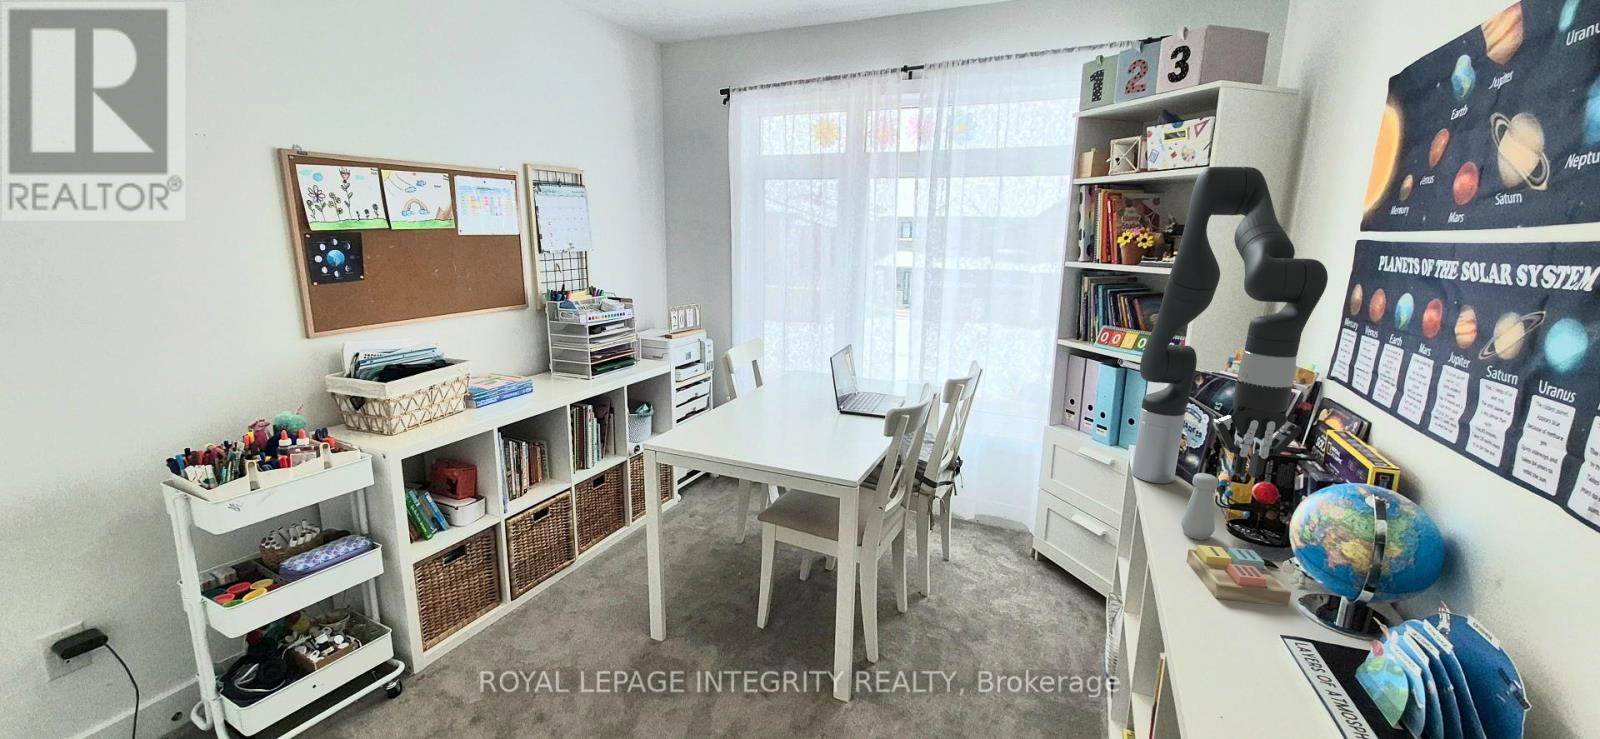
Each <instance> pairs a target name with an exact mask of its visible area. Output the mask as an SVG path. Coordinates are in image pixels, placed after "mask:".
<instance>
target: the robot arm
mask: <svg viewBox="0 0 1600 739" xmlns="http://www.w3.org/2000/svg"><path fill="white" fill-rule="evenodd" d="M1194 183H1195V184H1194V186H1193V189H1192V192H1191V197H1190V201H1189V205H1188V210H1187V215H1186V219H1185V223H1184V228H1183V233H1182V236H1181V239H1180V243H1179V247H1178V249H1177V252H1176V255H1175V259H1174V262H1173V265H1172V266H1171V269H1170V273H1169V276H1168V279H1167V282H1166V286H1165V289H1164V292H1163V297H1162V300H1161V304H1160V307H1159V311H1158V312H1157V313H1158V314H1157V318H1156V320H1155V323H1154V325H1153V327H1152V330H1151V332H1150V335H1149V337H1148V340H1147V342H1146V345H1145V347H1144V349H1143V351H1142V354H1141V359H1140V362H1139V363H1140V364H1139V373H1140V377H1141V378H1142V379H1143V380H1144V381H1146V382H1148V383H1149V382H1150V383H1154V384H1155V383H1158V384H1159V383H1160V384H1168V386H1167V387H1165V388H1163V389H1161V390H1159V391H1158V390H1157V391H1155V392H1151V393H1147V394H1145V395H1144V396H1143V398H1142V401H1141V409H1140V417H1139V422H1138V427H1137V429H1138V430H1137V435H1136V441H1135V442H1136V443H1135V448H1134V455H1133V462H1132V469H1131V474H1132V475H1133V476H1134V477H1136V478H1137V479H1139V480H1142V481H1145V482H1149V483H1155V484H1161V485H1163V484H1171V483H1173V482H1174V481H1175V476H1176V469H1177V465H1178V464H1177V463H1178V459H1179V453H1180V447H1181V442H1182V435H1183V429H1184V423H1185V417H1186V411H1187V406H1188V404H1189V401H1190V398H1191V392H1192V388H1193V384H1194V383H1193V382H1194V378H1195V375H1196V371H1197V364H1198V362H1197V359H1198V358H1197V353H1196V350H1195V349H1194V347H1192V346H1191V345H1184V344H1171V342H1172V340H1173V339H1174V337H1175V336H1176V335H1177V334H1178V333H1179V332H1180V331H1181V330H1182V329H1184V327H1187V325H1188V324H1190V323H1191V322H1193V320H1195V319H1196V318H1197V317H1199V316H1200V315H1201V314H1202V313H1203V312H1204V311H1206V310H1207V309H1208V307H1209V306H1210V304H1211V303H1212V301H1213V299H1214V295H1215V293H1216V291H1217V288H1218V285H1219V284H1220V283H1219V282H1220V279H1221V269H1220V265H1219V263H1218V261H1217V258H1216V256H1215V254H1214V252H1213V250H1212V247H1211V244H1210V242H1209V239H1208V238H1209V237H1208V223H1209V221H1210V220H1209V219H1210V218H1211V216H1244V217H1243V219H1242V220H1241V221H1240V222H1239V224H1238V226H1237V227H1236V228H1235V229H1236V230H1235V231H1234V232H1235V233H1234V244H1235V247H1236V248H1235V249H1236V250H1237V252H1238V253H1239V255H1240V257H1241V259H1242V261H1243V264H1244V283H1243V286H1244V291H1245V293H1246V295H1247V296H1248V297H1250V298H1252V299H1253V300H1254V301H1257V302H1262V303H1263V302H1266V303H1285V305H1284V306H1283V307H1282V308H1281V310H1280V311H1278V312H1276V313H1272V314H1267V315H1260V316H1256V317H1254V318H1252V319H1251V320H1250V323H1249V326H1248V328H1247V334H1246V335H1247V336H1246V341H1245V346H1244V350H1243V355H1242V357H1241V360H1240V363H1239V367H1238V372H1237V379H1236V384H1235V389H1234V395H1233V400H1232V407H1231V409H1230V410H1229V411H1228V413H1227V415H1226V416H1223V417H1221V418H1219V419H1218V418H1217V417H1216V418H1215V417H1214V418H1212V419H1211V422H1210V423H1211V425H1212V427H1213V429H1214V431H1215V434H1216V436H1217V437H1218V439H1219V442H1220V444H1221V445H1222V447H1223V448H1224V449H1225V450H1227V451H1228V452H1229V453H1231V454H1233V457H1232V462H1231V466H1230V467H1231V470H1232V471H1233V473H1234V474H1235V476H1237V477H1239V478H1244V477H1245V475H1246V470H1247V469H1248V470H1247V473H1248V475H1249V476H1250V477H1251V478H1253V479H1258V478H1259V477H1260V476H1262V474H1263V473H1264V469H1265V465H1266V459H1267V458H1268V457H1273V456H1274V457H1275V456H1276V457H1277V456H1280V455H1281V454H1282V453H1283V452H1284V451H1285V450H1286V449H1287V447H1289V445H1290V444H1291V443H1293V441H1294V440H1295V439H1296V438H1297V437H1298V436H1299V435H1300V434H1302V431H1303V429H1302V428H1301V427H1300V426H1298V425H1296V424H1294V423H1293V422H1290V421H1288V416H1287V412H1286V411H1287V410H1288V408H1289V405H1290V404H1289V403H1290V400H1291V396H1292V392H1293V391H1292V389H1293V386H1294V381H1295V378H1296V377H1295V376H1296V371H1297V358H1298V356H1297V355H1298V353H1299V348H1300V342H1301V337H1302V333H1303V331H1304V329H1305V327H1306V325H1307V323H1308V321H1309V319H1310V318H1311V315H1312V314H1313V312H1314V310H1315V308H1316V307H1317V305H1318V303H1319V301H1320V300H1321V298H1322V296H1323V294H1324V293H1325V290H1326V288H1327V285H1328V280H1329V276H1328V275H1329V274H1328V271H1327V268H1326V266H1325V265H1324V264H1323V263H1322V262H1321V261H1319V260H1318V259H1313V258H1295V254H1296V252H1295V251H1296V250H1295V247H1294V244H1293V242H1292V240H1291V239H1290V237H1289V236H1288V234H1287V233H1286V231H1285V230H1284V228H1283V227H1282V226H1281V223H1280V222H1279V221H1278V218H1277V215H1276V212H1275V209H1274V205H1273V204H1274V203H1273V200H1272V196H1271V193H1270V190H1269V186H1268V184H1267V180H1266V178H1265V176H1264V174H1263V173H1262V171H1261V170H1259V169H1258V168H1256V167H1252V166H1208V167H1205V168H1204V169H1202V170H1201V171H1200V173H1199V174H1198V175H1197V178H1196V181H1195V182H1194ZM1231 424H1232V426H1233V427H1234V429H1235V433H1234V440H1233V437H1232V436H1231V433H1230V430H1231V427H1232V426H1231ZM1278 431H1279V432H1278ZM1274 434H1276V435H1274ZM1252 444H1253V447H1252V452H1253V453H1251V454H1250V460H1248V459H1249V457H1248V453H1249V450H1250V446H1251V445H1252ZM1248 461H1249V465H1248ZM1247 465H1248V468H1247Z"/></svg>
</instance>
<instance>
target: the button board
mask: <svg viewBox="0 0 1600 739" xmlns="http://www.w3.org/2000/svg"><path fill="white" fill-rule="evenodd" d="M1196 550H1197V549H1190V548H1189V549H1188V550H1187V551H1188V552H1187V557H1186V563H1187V564H1188V565H1189V566H1190V568H1191V569H1192V570H1193V572H1194V573H1195V572H1196V573H1195V575H1197V576H1199V577H1200V578H1199V577H1198V578H1199V579H1200V580H1201V581H1203V582H1204V583H1203V582H1202V583H1203V584H1204V586H1206V588H1207V589H1208V590H1209V591H1210V592H1209V593H1211V595H1212V596H1213V597H1214V598H1215V599H1218V600H1228V601H1236V602H1247V603H1256V604H1257V603H1258V604H1267V605H1274V606H1275V605H1276V606H1285V607H1288V606H1289V604H1290V600H1291V597H1292V596H1291V595H1292V592H1291V591H1290V590H1289V589H1288V587H1286V586H1285V584H1283V583H1282V581H1280V580H1279V578H1278V577H1276V576H1275V575H1274V573H1272V572H1271V571H1270V569H1268V568H1267V566H1265V565H1264V567H1263V570H1258V571H1259V572H1260V573H1261V574H1262V575H1263V576H1264V577H1265V578H1266V579H1267V580H1266V584H1265V588H1259V587H1249V586H1239V585H1237V584H1236V583H1235V582H1234V581H1233V580H1232V579H1231V577H1230V576H1229V575H1228V574H1227V570H1228V567H1225V566H1214V565H1205V564H1204V563H1203V562H1202V561H1201V560H1200V558H1199V557H1198V556H1197V555H1196ZM1231 564H1233V563H1232V562H1231Z"/></svg>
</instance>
